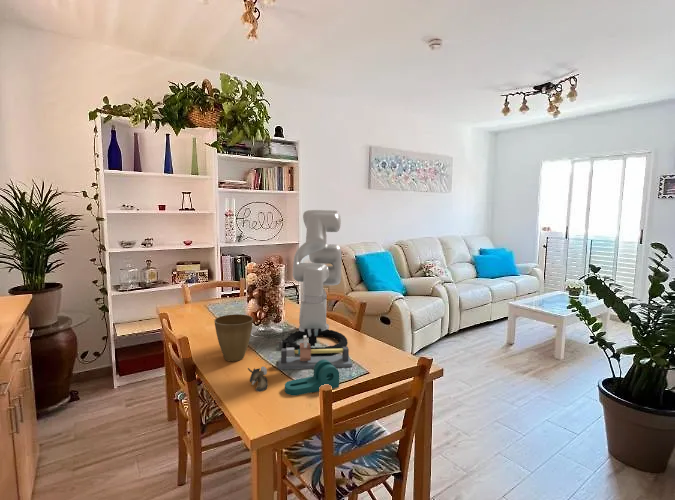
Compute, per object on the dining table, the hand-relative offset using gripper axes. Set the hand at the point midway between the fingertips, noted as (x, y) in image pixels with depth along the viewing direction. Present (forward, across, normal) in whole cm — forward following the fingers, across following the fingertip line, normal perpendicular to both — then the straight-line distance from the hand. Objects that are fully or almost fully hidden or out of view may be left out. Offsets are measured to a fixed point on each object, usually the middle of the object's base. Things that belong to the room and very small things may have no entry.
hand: (312, 345), depth 146 cm
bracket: (+8, +2, +19) cm, 21 cm away
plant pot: (+8, +30, -9) cm, 33 cm away
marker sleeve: (+5, +3, 0) cm, 6 cm away
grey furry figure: (+8, +20, +16) cm, 27 cm away
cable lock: (+8, -2, -20) cm, 22 cm away
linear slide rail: (+8, -1, 0) cm, 8 cm away
